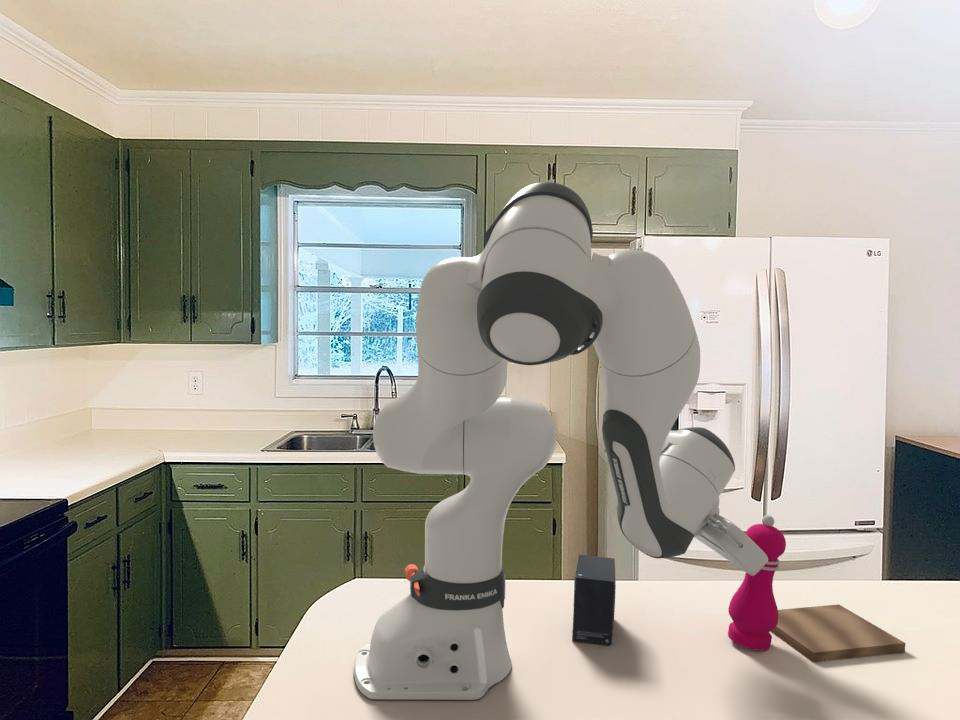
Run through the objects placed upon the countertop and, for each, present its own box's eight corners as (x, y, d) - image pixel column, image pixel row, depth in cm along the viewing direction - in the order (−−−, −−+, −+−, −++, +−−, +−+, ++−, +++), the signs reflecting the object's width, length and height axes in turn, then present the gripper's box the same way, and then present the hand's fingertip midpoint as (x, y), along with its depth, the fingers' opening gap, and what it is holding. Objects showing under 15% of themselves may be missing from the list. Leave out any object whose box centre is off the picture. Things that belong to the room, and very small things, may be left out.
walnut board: (812, 662, 101) (813, 652, 100) (755, 620, 114) (756, 611, 114) (904, 652, 104) (905, 643, 104) (838, 612, 118) (838, 604, 117)
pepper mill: (775, 657, 101) (797, 525, 101) (724, 643, 104) (745, 515, 103) (771, 638, 108) (791, 515, 107) (723, 626, 111) (743, 505, 110)
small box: (614, 647, 104) (615, 580, 104) (571, 642, 106) (572, 576, 105) (614, 617, 115) (616, 556, 114) (575, 613, 116) (577, 553, 115)
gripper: (739, 510, 92) (802, 576, 95) (672, 474, 112) (725, 530, 115) (708, 543, 92) (771, 610, 94) (646, 502, 112) (699, 557, 114)
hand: (745, 565), depth 105 cm, fingers closed
